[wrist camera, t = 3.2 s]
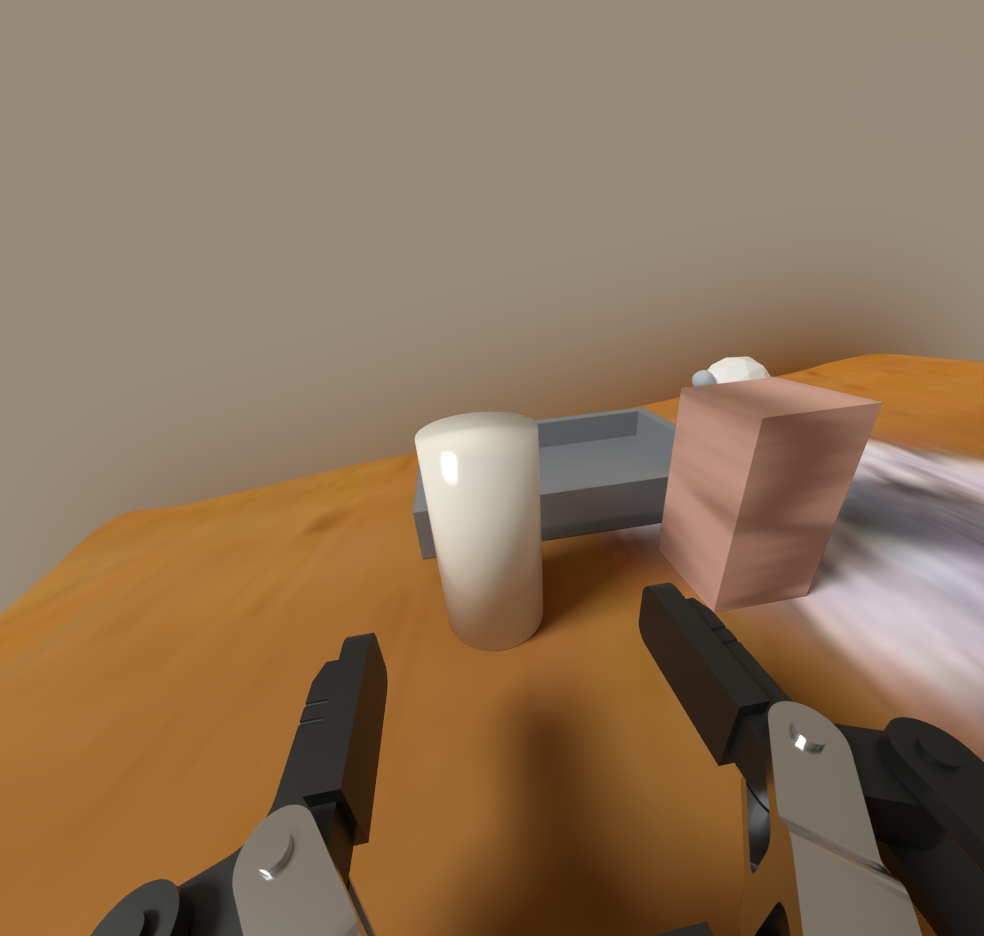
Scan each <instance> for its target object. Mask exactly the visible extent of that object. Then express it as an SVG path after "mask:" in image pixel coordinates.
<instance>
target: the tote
mask: <svg viewBox="0 0 984 936" xmlns="http://www.w3.org/2000/svg"><path fill="white" fill-rule="evenodd" d="M535 422H536V423H537V425H538V440H539V475H540V510H541V541H543V540H550V539H556V538H563V537H569V536H576V535H582V534H589V533H595V532H602V531H608V530H615V529H621V528H628V527H634V526H641V525H647V524H654V523H661V522H662V519H663V512H664V505H665V498H666V491H667V484H668V477H669V471H670V464H671V457H672V450H673V443H674V436H675V429H676V424H674V423H672V422H670V421H668V420H666V419H664V418H662V417H661V416H659V415H657V414H655V413H653V412H651V411H649V410H647V409H645V408H644V407H641V408H632V409H624V410H616V411H608V412H600V413H592V414H584V415H576V416H568V417H559V418H551V419H544V420H535ZM413 514H414V519H415V523H416V528H417V533H418V538H419V543H420V547H421V552H422V557H423V559H426V558H432V557H437V555H436V550H435V545H434V539H433V534H432V529H431V523H430V518H429V513H428V507H427V502H426V497H425V491H424V486H423V481H422V475H421V470H420V465H419V467H418V475H417V484H416V493H415V502H414V511H413Z"/></svg>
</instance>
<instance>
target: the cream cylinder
mask: <svg viewBox="0 0 984 936" xmlns="http://www.w3.org/2000/svg"><path fill="white" fill-rule="evenodd" d="M415 443H416V448H417V454H418V459H419V465H420V470H421V475H422V481H423V486H424V491H425V497H426V502H427V507H428V513H429V518H430V523H431V529H432V534H433V539H434V545H435V550H436V555H437V560H438V566H439V571H440V576H441V582H442V587H443V592H444V598H445V603H446V608H447V614H448V619H449V623H450V627H451V629H452V631H453V632H454V634H455V635H456V636H457V637H458V638H459V639H460V640H461V641H462V642H464V643H465V644H467V645H469V646H471V647H474V648H476V649H481V650H487V651H498V650H505V649H509V648H512V647H515V646H517V645H519V644H521V643H523V642H525V641H526V640H528V639H529V638H530V637H531V636H532V635H533V634H534V633H535V632H536V630H537V629H538V627H539V626H540V623H541V621H542V618H543V579H542V544H541V510H540V475H539V440H538V425H537V423H536V422H535V421H534V420H532V419H531V418H529V417H527V416H523V415H520V414H515V413H509V412H475V413H466V414H461V415H456V416H452V417H447V418H444V419H441V420H438V421H435V422H433V423H431V424H429V425H427V426H425V427H424V428H422V429H421V430H420V431H419V432H418V433H417V434H416V437H415Z"/></svg>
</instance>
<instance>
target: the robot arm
mask: <svg viewBox="0 0 984 936" xmlns="http://www.w3.org/2000/svg"><path fill="white" fill-rule="evenodd" d="M639 629H640V633H641V636H642V639H643V641H644V643H645V645H646V647H647V648H648V650H649V652H650V653H651V655H652V657H653V658H654V660H655V662H656V663H657V665H658V667H659V668H660V670H661V671H662V673H663V675H664V676H665V678H666V680H667V681H668V683H669V685H670V686H671V688H672V690H673V691H674V693H675V695H676V696H677V698H678V700H679V701H680V703H681V705H682V706H683V708H684V710H685V711H686V713H687V715H688V716H689V718H690V720H691V721H692V723H693V724H694V726H695V728H696V729H697V731H698V733H699V734H700V736H701V738H702V739H703V741H704V743H705V744H706V746H707V748H708V749H709V751H710V753H711V754H712V756H713V758H714V759H715V761H716V763H717V764H718V766H721V765H726V764H730V763H735V764H736V766H737V767H738V769H739V770H740V772H741V773H742V778H741V794H742V820H743V846H744V888H743V894H742V900H741V912H740V936H922V934H921V930H920V927H919V924H918V920H917V917H916V914H915V911H914V908H913V905H912V902H913V903H914V905H915V906H916V907H917V909H918V910H919V911H920V913H921V914H922V915H923V917H924V918H925V919H926V921H927V922H928V923H929V925H930V926H931V927H932V929H933V930H934V931H935V933H936V934H937V935H938V936H984V874H983V873H982V872H981V871H980V869H981V870H982V871H983V872H984V762H983V761H982V760H981V759H980V758H978V757H977V756H976V755H975V754H974V753H973V752H972V751H971V750H970V749H968V748H967V747H966V746H965V745H964V744H962V743H961V742H960V741H958V740H957V739H955V738H954V737H953V736H951V735H949V734H948V733H946V732H945V731H943V730H941V729H939V728H937V727H935V726H933V725H931V724H928V723H926V722H923V721H920V720H917V719H913V718H906V717H901V718H895V719H893V720H891V721H890V722H889V724H888V725H887V727H886V728H885V730H884V731H880V730H873V729H866V728H859V727H853V726H846V725H840V724H835V723H832V722H831V721H830V720H828V719H827V718H826V717H825V716H823V715H822V714H820V713H819V712H817V711H815V710H814V709H812V708H810V707H808V706H805V705H803V704H800V703H796V702H793V701H792V700H791V699H790V698H789V697H788V696H787V695H786V694H785V693H784V692H783V691H782V690H781V688H780V687H779V686H778V685H777V684H776V683H775V682H774V680H773V679H772V678H771V677H770V676H769V675H768V674H767V673H766V671H765V670H764V669H763V668H762V667H761V666H760V665H759V663H758V662H757V661H756V660H755V659H754V658H753V657H752V656H751V654H750V653H749V652H748V651H747V650H746V649H745V648H744V646H743V645H742V644H741V643H738V641H737V639H736V637H735V636H734V635H733V634H732V633H731V632H730V631H729V629H726V627H725V625H724V624H723V623H722V622H721V620H720V619H719V618H718V617H717V616H716V615H715V614H714V612H713V611H712V610H711V609H709V608H708V607H706V606H705V605H703V604H702V603H700V602H699V601H697V600H696V599H694V598H689V599H685V597H684V596H683V595H682V594H681V593H680V591H679V590H678V589H677V588H676V587H675V586H674V585H673V584H672V583H664V584H658V585H653V586H647V587H645V588H644V589H643V594H642V601H641V609H640V617H639ZM386 696H387V671H386V666H385V663H384V660H383V657H382V654H381V651H380V647H379V644H378V641H377V638H376V635H375V634H374V633H370V634H364V635H358V636H353V637H347V638H346V639H345V640H344V642H343V646H342V649H341V653H340V657H339V660H335V661H330V662H326V663H325V665H324V666H323V668H322V669H321V670H320V672H319V673H318V675H317V676H316V678H315V679H314V680H313V682H312V685H311V688H310V691H309V694H308V697H307V701H306V707H305V708H304V710H303V713H302V716H301V719H300V726H298V729H297V732H296V735H295V738H294V741H293V744H292V747H291V751H290V754H289V757H288V760H287V763H286V766H285V769H284V772H283V776H282V779H281V782H280V785H279V788H278V791H277V794H276V797H275V800H274V803H273V805H272V807H271V809H270V811H269V813H268V815H267V817H266V818H265V819H264V820H263V821H262V822H261V823H260V824H259V825H258V826H257V827H256V828H255V829H254V831H253V832H252V833H251V835H250V836H249V837H248V839H247V840H246V842H245V844H244V845H243V846H242V847H241V848H239V849H238V850H237V851H236V852H234V853H233V854H231V855H230V856H228V857H227V858H225V859H224V860H222V861H220V862H219V863H217V864H215V865H214V866H212V867H210V868H209V869H207V870H205V871H203V872H202V873H200V874H198V875H197V876H195V877H193V878H192V879H190V880H188V881H187V882H185V883H183V884H182V885H180V886H178V887H177V886H176V885H175V884H174V883H173V882H171V881H169V880H165V879H159V880H154V881H151V882H149V883H146V884H144V885H142V886H140V887H139V888H137V889H135V890H134V891H133V892H131V893H130V894H128V895H127V896H126V897H125V898H124V899H122V900H121V901H120V902H119V903H118V904H117V905H116V906H115V907H114V908H113V909H112V910H111V911H110V912H109V913H108V914H107V915H106V916H105V918H104V919H103V920H102V921H101V922H100V924H99V925H98V926H97V927H96V929H95V930H94V931H93V933H92V934H91V936H377V935H376V933H375V931H374V929H373V927H372V924H371V922H370V920H369V918H368V915H367V913H366V911H365V909H364V907H363V904H362V902H361V900H360V898H359V896H358V893H357V891H356V889H355V887H354V884H353V882H352V880H351V878H350V876H349V872H350V865H351V858H352V852H353V846H355V845H359V844H364V843H368V842H369V834H370V825H371V817H372V809H373V801H374V793H375V785H376V777H377V769H378V761H379V753H380V744H381V736H382V728H383V720H384V712H385V704H386ZM948 834H949V835H950V836H951V837H952V838H953V839H954V840H955V842H956V843H957V844H958V845H959V846H960V847H961V848H962V849H963V850H964V851H965V853H966V854H967V855H968V856H969V857H970V858H971V859H972V860H973V861H974V862H975V864H976V865H977V866H978V867H979V868H980V869H979V868H978V867H977V866H976V865H975V864H974V863H973V862H972V861H971V860H970V858H969V857H968V856H967V855H966V854H965V853H964V852H963V851H962V850H961V848H960V847H959V846H958V845H957V844H956V843H955V842H954V841H953V840H952V838H951V837H950V836H949V835H948ZM881 860H882V861H881ZM882 862H883V863H884V864H885V866H886V867H887V868H888V870H889V871H890V872H891V874H890V873H888V872H887V870H886V869H885V867H884V866H883V863H882ZM911 901H912V902H911ZM655 936H713V935H712V933H711V930H710V928H709V926H708V923H707V922H704V923H700V924H697V925H693V926H689V927H685V928H682V929H678V930H674V931H670V932H667V933H663V934H659V935H655Z"/></svg>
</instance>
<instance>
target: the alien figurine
mask: <svg viewBox="0 0 984 936" xmlns="http://www.w3.org/2000/svg"><path fill="white" fill-rule="evenodd" d="M770 377H771V376H770V375H769V374H768V372H767V371H766V369H765V368H764V366H762V365H761V364H759V363H758V362H756V361H755V360H753V359H751V358H750V357H733V358H732V357H731V358H725V359H723V360H721V361H719V362H717V363H715V364H713V365H711V366H710V368H709V369H708V370H701V371H698V372H697V373H695V374H694V376H693V378H692V383H693V386H694V387H695V386H703V385H711V384H720V383H728V382H736V381H745V380H753V379H761V378H770Z"/></svg>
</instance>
